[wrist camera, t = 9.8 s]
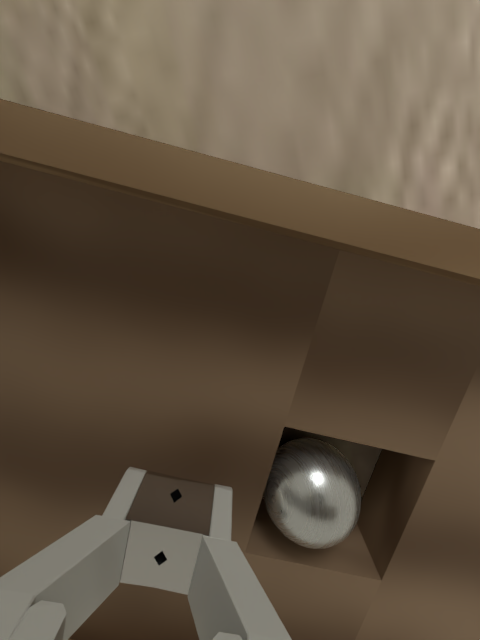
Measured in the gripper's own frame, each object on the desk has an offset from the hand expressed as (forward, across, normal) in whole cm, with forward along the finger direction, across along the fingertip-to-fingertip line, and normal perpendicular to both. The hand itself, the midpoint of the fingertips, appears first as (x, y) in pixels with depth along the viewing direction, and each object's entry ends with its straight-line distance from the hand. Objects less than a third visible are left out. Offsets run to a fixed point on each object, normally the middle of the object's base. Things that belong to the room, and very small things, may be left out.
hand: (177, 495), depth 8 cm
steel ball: (+2, -4, 0) cm, 5 cm away
